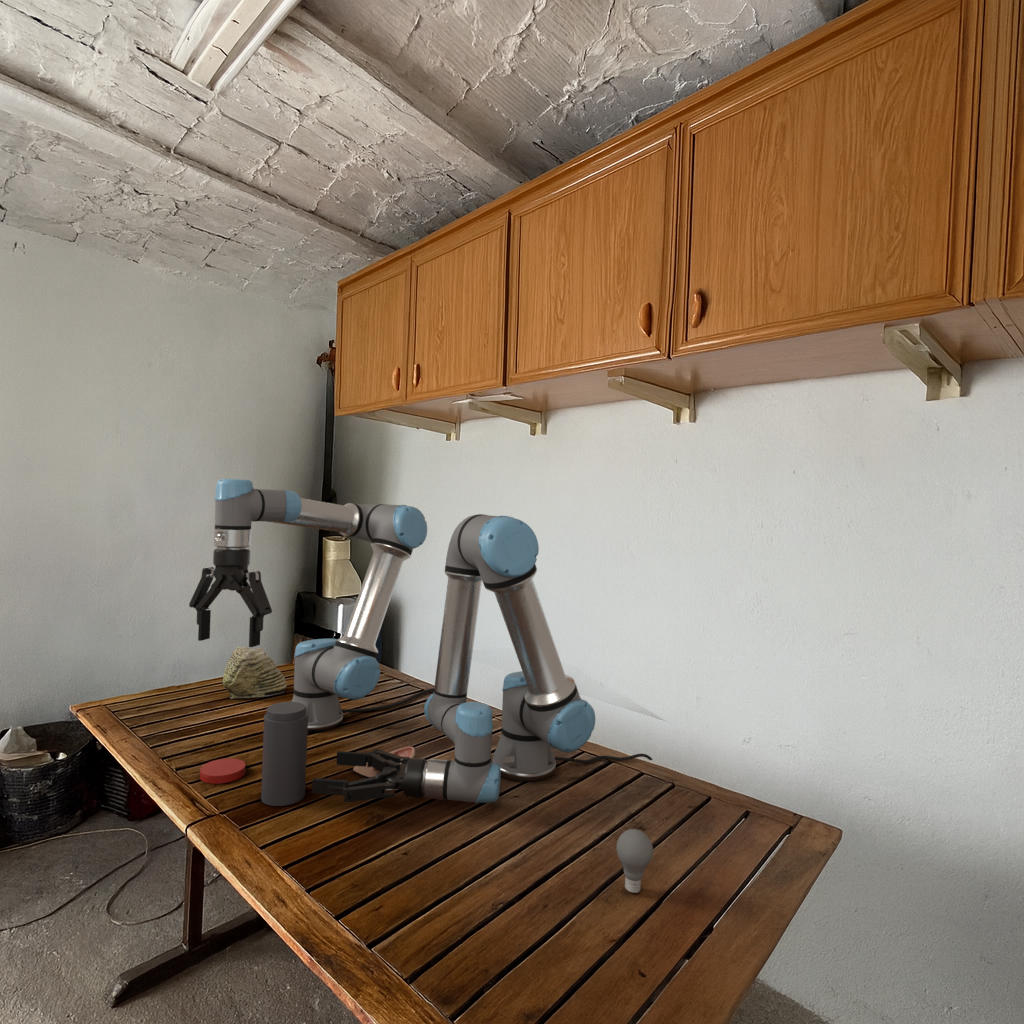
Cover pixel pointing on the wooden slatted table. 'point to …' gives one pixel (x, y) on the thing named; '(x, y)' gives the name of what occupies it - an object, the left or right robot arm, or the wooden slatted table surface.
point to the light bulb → (634, 857)
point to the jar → (284, 754)
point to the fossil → (252, 674)
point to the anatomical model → (400, 752)
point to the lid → (222, 771)
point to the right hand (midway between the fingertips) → (325, 770)
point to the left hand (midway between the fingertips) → (228, 642)
